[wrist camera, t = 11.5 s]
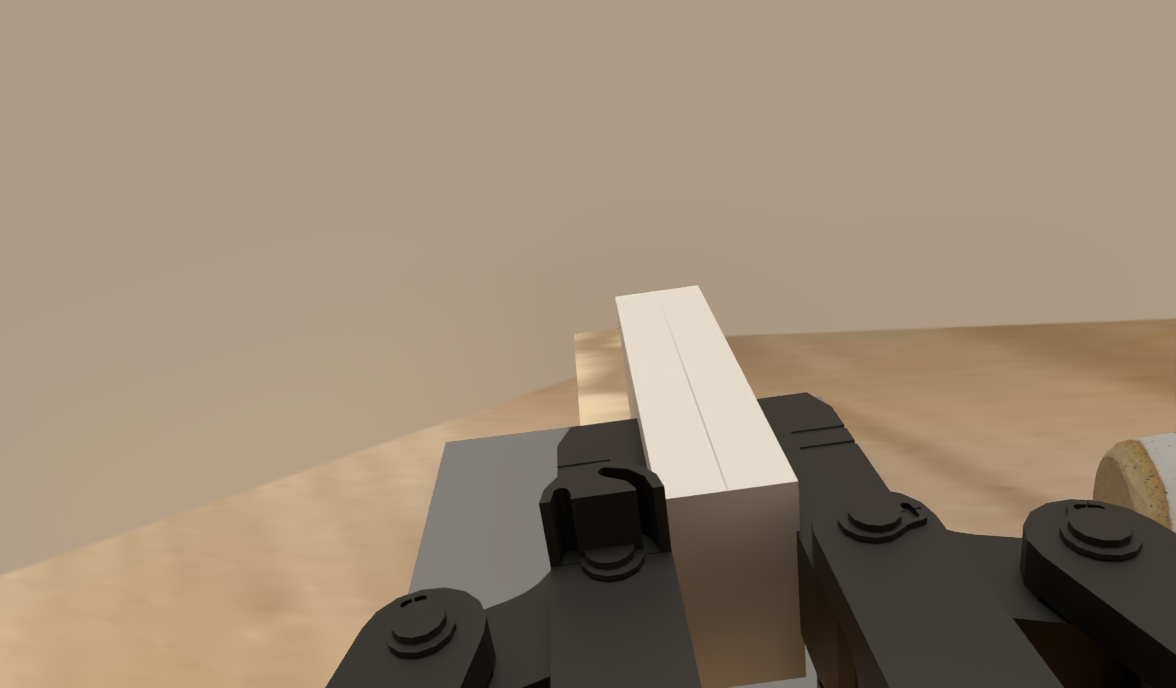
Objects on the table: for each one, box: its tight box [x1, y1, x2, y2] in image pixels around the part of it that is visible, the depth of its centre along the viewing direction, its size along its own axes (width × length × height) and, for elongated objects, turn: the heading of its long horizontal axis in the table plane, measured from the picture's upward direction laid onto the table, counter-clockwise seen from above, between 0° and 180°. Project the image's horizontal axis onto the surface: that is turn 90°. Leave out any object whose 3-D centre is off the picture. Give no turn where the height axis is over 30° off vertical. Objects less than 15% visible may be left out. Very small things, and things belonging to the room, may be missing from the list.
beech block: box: [574, 329, 631, 426], centre depth 37 cm, size 5×5×14 cm
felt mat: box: [408, 397, 825, 688], centre depth 34 cm, size 20×22×1 cm
